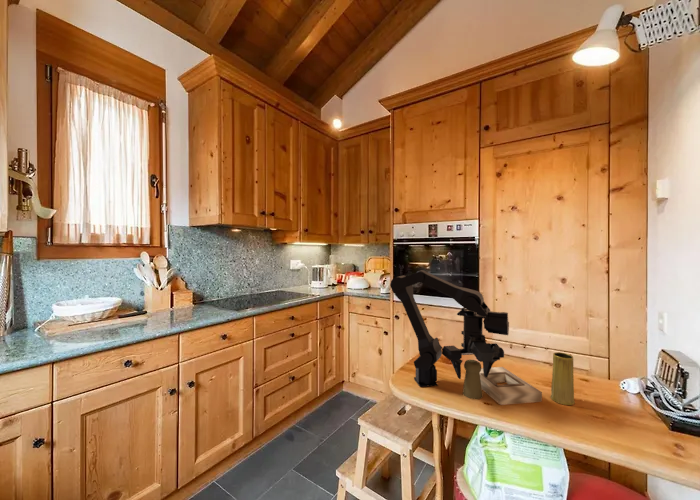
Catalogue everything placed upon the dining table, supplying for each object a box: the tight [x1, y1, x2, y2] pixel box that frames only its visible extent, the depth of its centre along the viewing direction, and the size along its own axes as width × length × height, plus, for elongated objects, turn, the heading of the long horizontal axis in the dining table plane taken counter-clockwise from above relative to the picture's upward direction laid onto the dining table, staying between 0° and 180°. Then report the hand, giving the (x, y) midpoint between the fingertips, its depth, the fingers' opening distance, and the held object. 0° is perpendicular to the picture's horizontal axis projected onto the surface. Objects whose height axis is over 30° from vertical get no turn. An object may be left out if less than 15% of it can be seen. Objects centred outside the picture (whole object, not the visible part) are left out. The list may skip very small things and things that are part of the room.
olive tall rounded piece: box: [462, 359, 484, 400], centre depth 96 cm, size 6×6×11 cm
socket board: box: [479, 366, 543, 406], centre depth 100 cm, size 14×19×3 cm
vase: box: [550, 351, 576, 406], centre depth 93 cm, size 6×6×14 cm
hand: (472, 377), depth 96 cm, fingers open, 9 cm apart
